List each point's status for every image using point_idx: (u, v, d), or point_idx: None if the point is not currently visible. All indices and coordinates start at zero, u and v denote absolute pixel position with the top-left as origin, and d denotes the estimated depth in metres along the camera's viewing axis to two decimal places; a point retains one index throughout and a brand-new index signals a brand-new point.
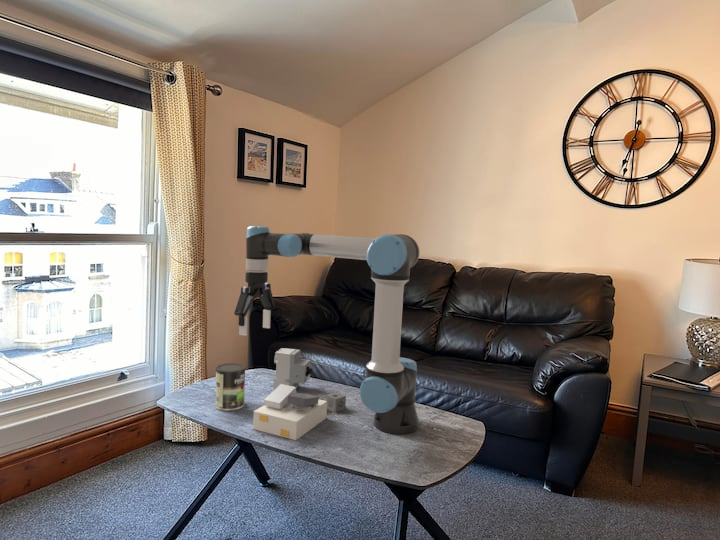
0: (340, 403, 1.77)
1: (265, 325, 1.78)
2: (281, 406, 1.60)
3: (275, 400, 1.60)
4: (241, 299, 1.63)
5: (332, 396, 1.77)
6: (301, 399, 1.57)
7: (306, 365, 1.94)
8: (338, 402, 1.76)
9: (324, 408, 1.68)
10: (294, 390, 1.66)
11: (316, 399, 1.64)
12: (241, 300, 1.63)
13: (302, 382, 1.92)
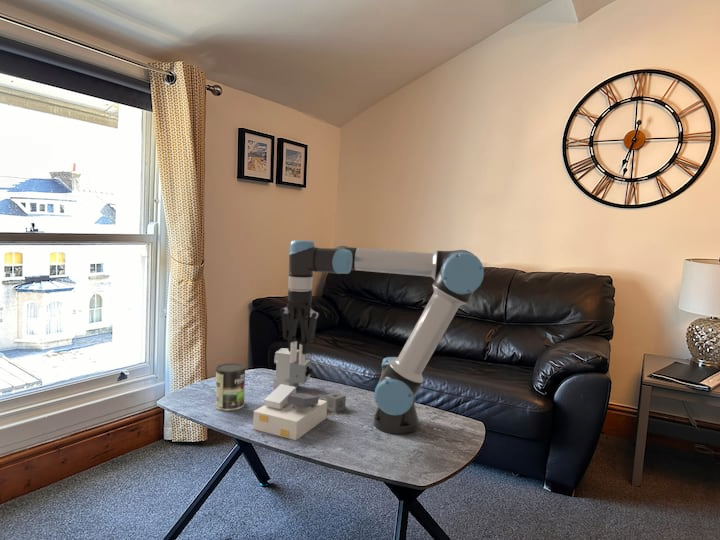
0: (340, 403, 1.77)
1: None
2: (281, 406, 1.60)
3: (275, 400, 1.60)
4: None
5: (332, 396, 1.77)
6: (301, 399, 1.57)
7: (306, 365, 1.94)
8: (338, 402, 1.76)
9: (324, 408, 1.68)
10: (294, 390, 1.66)
11: (316, 399, 1.64)
12: None
13: (302, 382, 1.92)
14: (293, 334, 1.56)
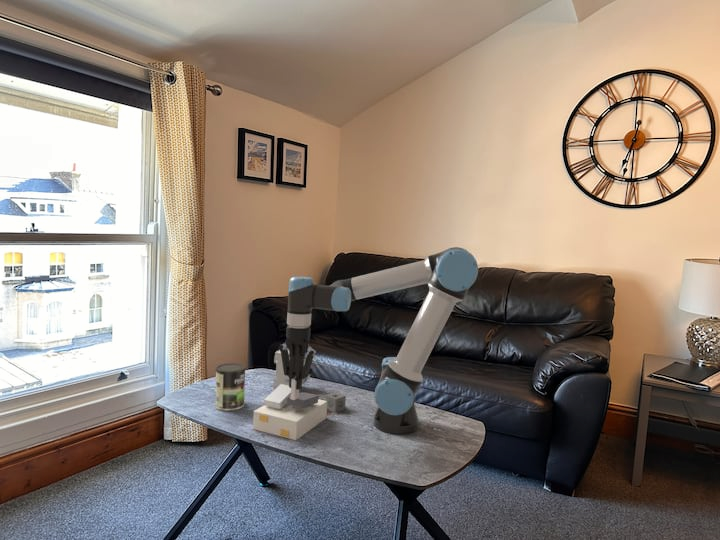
0: (340, 403, 1.77)
1: None
2: (281, 406, 1.60)
3: (275, 400, 1.60)
4: None
5: (332, 396, 1.77)
6: (300, 401, 1.57)
7: None
8: (338, 402, 1.76)
9: (324, 408, 1.68)
10: None
11: (316, 398, 1.64)
12: None
13: (302, 382, 1.92)
14: (293, 370, 1.57)
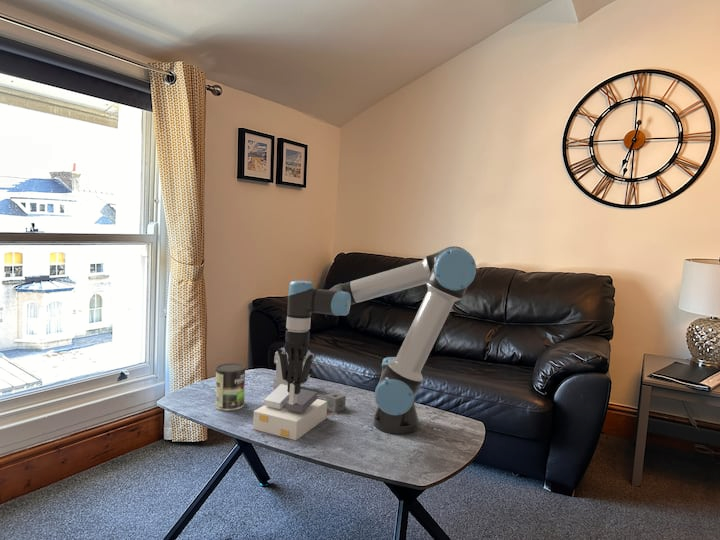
0: (340, 403, 1.77)
1: None
2: (281, 406, 1.60)
3: (275, 400, 1.60)
4: None
5: (332, 396, 1.77)
6: (298, 406, 1.56)
7: None
8: (338, 402, 1.76)
9: (324, 408, 1.68)
10: None
11: (314, 396, 1.63)
12: None
13: None
14: (292, 375, 1.56)
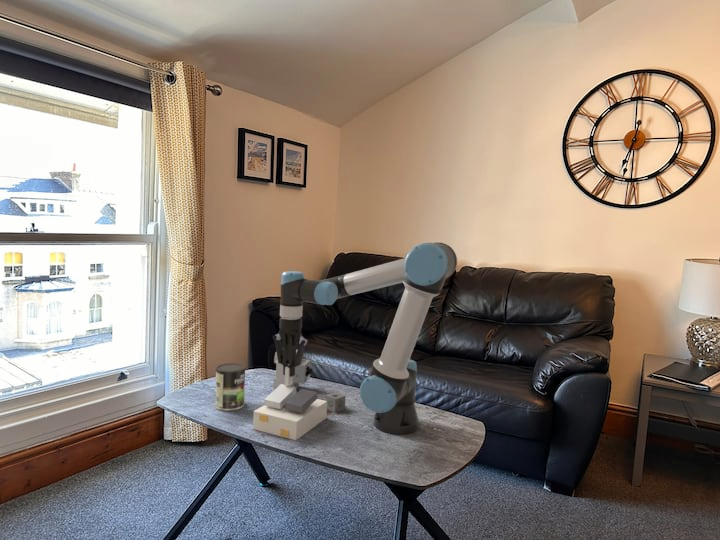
0: (340, 403, 1.77)
1: None
2: (281, 406, 1.60)
3: (275, 400, 1.60)
4: None
5: (332, 396, 1.77)
6: (298, 406, 1.56)
7: (306, 365, 1.94)
8: (338, 402, 1.76)
9: (324, 408, 1.68)
10: (294, 390, 1.66)
11: (314, 396, 1.63)
12: None
13: (302, 382, 1.92)
14: (287, 359, 1.68)
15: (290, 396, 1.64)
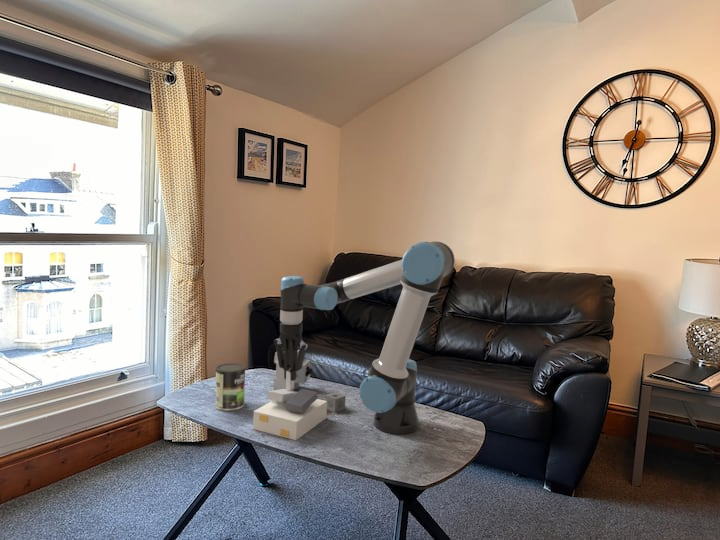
0: (340, 403, 1.77)
1: None
2: (283, 399, 1.60)
3: (278, 392, 1.62)
4: None
5: (332, 396, 1.77)
6: (298, 406, 1.56)
7: (306, 365, 1.94)
8: (338, 402, 1.76)
9: (324, 408, 1.68)
10: None
11: (314, 396, 1.63)
12: None
13: (302, 382, 1.92)
14: (288, 363, 1.69)
15: None
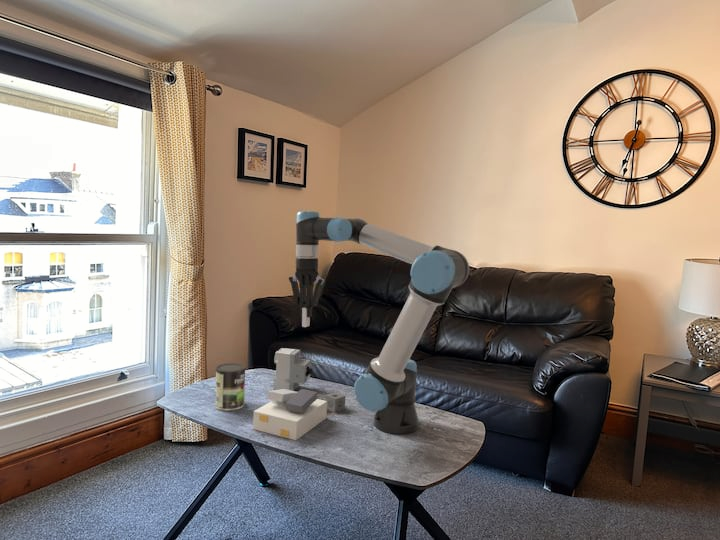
0: (339, 403, 1.77)
1: None
2: (283, 399, 1.60)
3: (278, 392, 1.62)
4: None
5: (331, 396, 1.77)
6: (298, 406, 1.56)
7: (306, 365, 1.94)
8: (337, 402, 1.76)
9: (324, 408, 1.68)
10: None
11: (314, 396, 1.63)
12: None
13: (302, 382, 1.92)
14: (304, 299, 1.67)
15: None
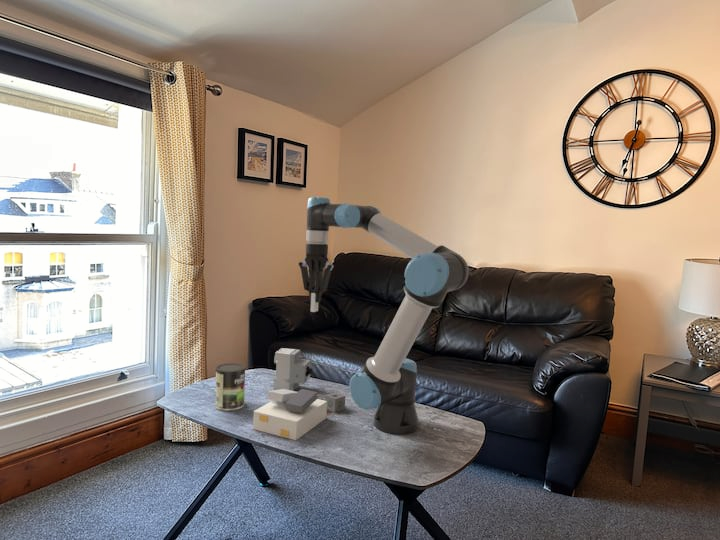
0: (339, 403, 1.77)
1: None
2: (283, 399, 1.60)
3: (278, 392, 1.62)
4: None
5: (331, 396, 1.77)
6: (298, 406, 1.56)
7: (306, 365, 1.94)
8: (337, 402, 1.76)
9: (324, 408, 1.68)
10: None
11: (314, 396, 1.63)
12: None
13: (302, 382, 1.92)
14: (313, 285, 1.69)
15: None
